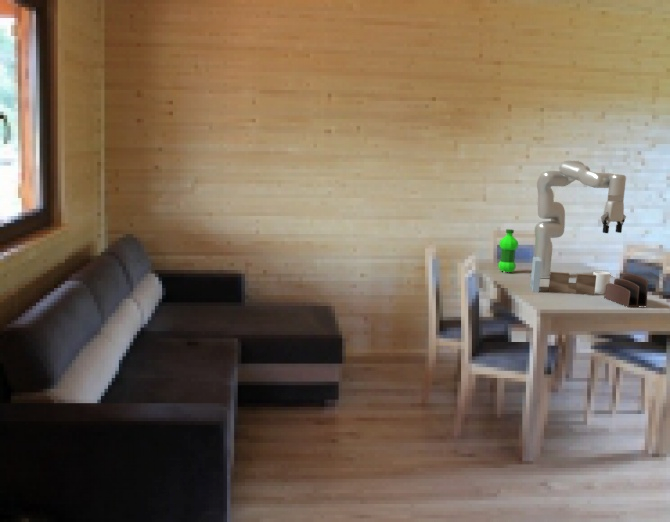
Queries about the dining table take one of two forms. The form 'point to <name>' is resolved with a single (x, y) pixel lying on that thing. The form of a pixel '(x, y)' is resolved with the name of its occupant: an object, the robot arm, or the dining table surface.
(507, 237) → the plastic bottle
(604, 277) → the cup
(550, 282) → the slotted board
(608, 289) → the letter holder
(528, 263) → the dining table surface
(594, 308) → the dining table surface
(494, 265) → the dining table surface
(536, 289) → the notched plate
